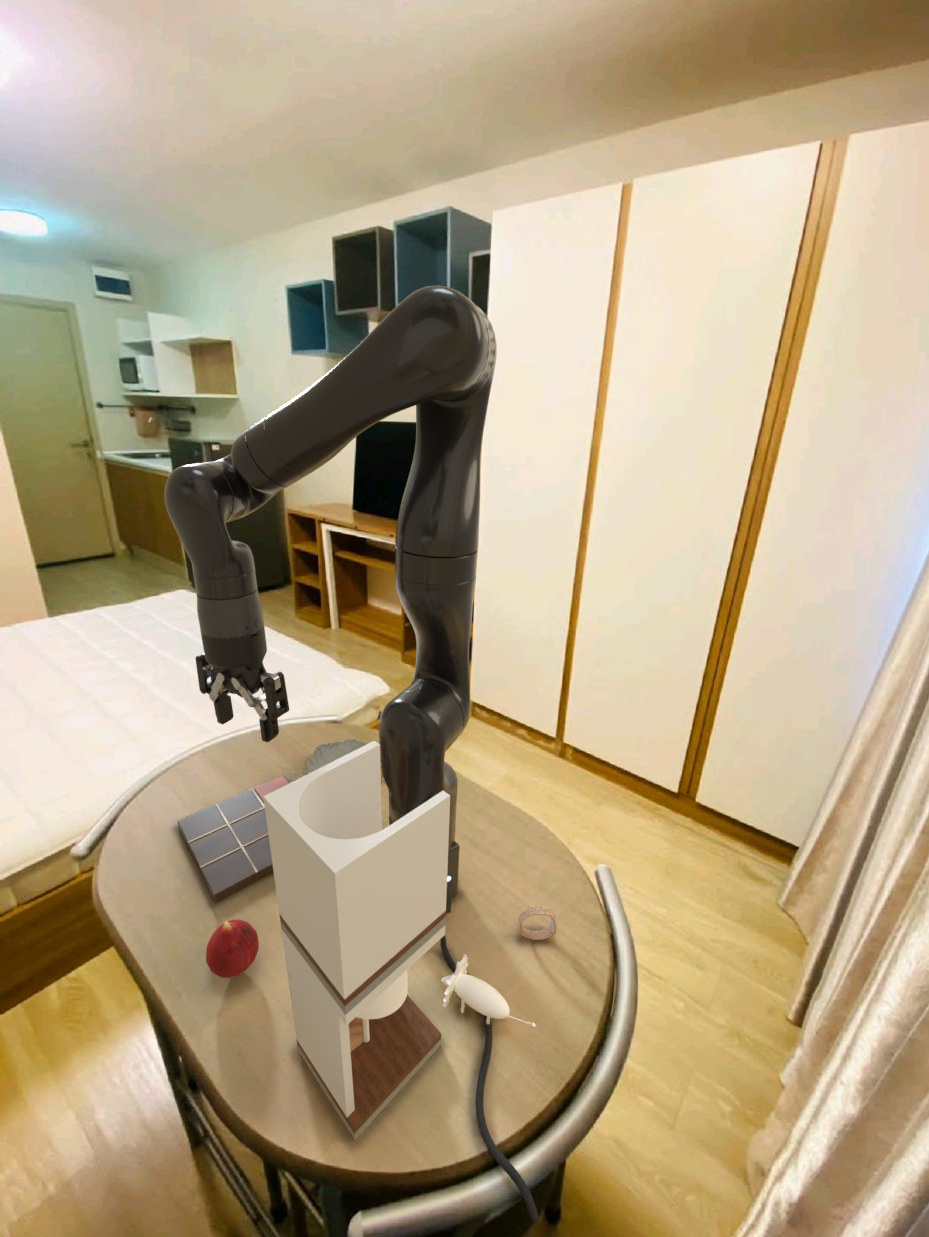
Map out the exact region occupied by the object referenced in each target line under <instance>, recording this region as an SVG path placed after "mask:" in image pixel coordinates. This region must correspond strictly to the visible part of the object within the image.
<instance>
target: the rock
mask: <svg viewBox="0 0 929 1237" xmlns="http://www.w3.org/2000/svg"><path fill="white" fill-rule="evenodd" d="M367 744H368V743H366V742H362V741H359V740H357V739H355V738H351V739H346V740H344V741H334V742H328V743H325V744H324V743H321V744H319V745H317V746H316V747H315V748H314V751H313V755H312V756H311V757H310V759H309V765H308V766H307V768H306V771H305V775H307V774H309V773H311V772H313V771H315V770H317V769H319V768H321V767H323V766H325V765H327V764H329V763H331V762H333V761H335V760H337V759H339V758H341V757H343V756H345V755H347V754H349V753H351V752H353V751H355V750H357V749H359V748H361V747H363V746H365V745H367ZM380 763H381V755H380Z"/></svg>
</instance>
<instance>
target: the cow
mask: <svg viewBox="0 0 929 1237" xmlns="http://www.w3.org/2000/svg"><path fill="white" fill-rule="evenodd" d="M468 961H469V958H468V955H467V954H466V953H464V954H463V956H462V959H461V961H457V963H456V970H455V973H454V972H453V973H451V974H449V975H446V976H444V977H443V978H441V980H440V983H441V984H442V985H444V986H445V987H446V989H445V991H444V993H443V995H444V998H443V1000H442V1002H444V1003H443V1004H442V1006H443V1007H445V1008H446V1007H447V1006H448V1004H449V1003H450V1000H451V996H452V994H453V993H454V992H455V993H456V995H457V997H458V998H460V999H461V1002H460V1009H459V1011H460V1013H461V1014H464V1013H465V1004H466V1005H467V1006H468V1007H470V1008H471V1009H473V1010H474V1011H476V1012H477V1013H479V1014H481V1015H482V1014H483V1015H485V1016H487V1020H486V1024H487V1025H489V1024H490V1019H496V1020H504V1019H506V1018H508V1019H511V1020H514V1021H518V1022H519V1023H523V1024H526V1025H529V1026H531V1028H536V1027H537V1024H536V1023H535V1022H529V1021H527V1020H523V1019H521V1018H517V1017H515V1016H512V1015H510V1013H511V1012H510V1011H511V1010H510V1006H509V1004H508V1002H507V1001H506V999H505V998H504V997H503V995H502V993H500V992H499V991H498V990H497V989H495V988H494V987H493V985H490V984H489V983H487V982H486V981H485V980H482V979H480V978H479V977H476V976H474V975H472V974H471V975H470V974H467V973H468V970H467V968H468V966H469V965H470V964H469V962H468ZM483 1015H482V1016H483Z"/></svg>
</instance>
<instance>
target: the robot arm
mask: <svg viewBox="0 0 929 1237" xmlns="http://www.w3.org/2000/svg"><path fill="white" fill-rule="evenodd" d="M497 348H498V344H497V337H496V333H495V330H494V328H493V324H492V322H491V321H490V319H489V317H488V315H487V314H486V313H485V312H484V311H483V310H482V309H481V308H480V307H479V306H478V305H477V304H475V303H474V301H473V300H471V299H470V298H469V297H467V296H466V295H465V294H463V293H462V292H461V291H459V290H457V289H454V288H452V287H449V286H444V285H438V284H437V285H427V286H424V287H420V288H419V289H416V290H414V291H413V292H411V293H410V294H409V295H407V296H406V297H405V298H404V299H403V300H402V301H401V302H399V303H398V304H397V305H396V306H395V307H394V308H393V309H392V310H391V311H390V312H389V313H388V314H387V315H386V316H385V317H384V318H383V319H382V320H381V321H380V322H379V323H378V324H377V325H376V326H375V328H373V329H372V331H370V332H369V333H368V335H366V337H364V339H363V340H361V341H360V343H359V344H358V345H357V346H356V347H354V348H353V349H352V350H351V351H350V352H349V353H348V354H347V355H346V356H345V357H343V359H341V360H340V361H339V362H338V363H337V364H336V365H334V366H333V367H332V368H331V369H330V370H329V371H327V372H326V373H325V374H324V375H323V376H322V377H320V378H319V379H318V380H316V381H315V382H313V384H311V385H310V386H309V387H307V388H306V389H305V390H303V391H302V392H301V393H298V395H296V396H295V397H293V398H292V399H290V400H289V401H287V402H285V404H283V405H282V406H279V407H278V408H276V409H275V410H274V411H272V412H271V413H269V414H268V415H266V416H265V417H264V418H263V417H262V419H261V420H259V421H258V422H256V423H254V424H253V425H252V426H250V427H249V428H247V429H245V430H244V431H243V432H242V433H240V435H239V436H237V437H236V439H235V440H234V441H233V443H232V446H231V450H230V454H228V455H226V456H224V457H222V458H220V459H217V460H213V461H205V462H199V463H191V464H190V463H189V464H185V465H184V464H183V465H180V466H178V467H176V468H175V469H174V470H172V471H171V473H169V475H168V476H167V479H166V483H165V485H164V493H163V495H164V498H163V499H164V504H165V508H166V512H167V514H168V515H167V516H168V517H169V519H170V521H171V524H172V526H173V528H174V530H175V532H176V534H177V536H178V538H179V540H180V542H181V545H182V547H183V549H184V551H185V553H186V555H187V556H188V558H189V561H190V563H191V569H192V576H193V582H194V588H195V593H196V611H197V619H198V625H199V630H200V637H201V643H202V648H203V653H201V654H198V655H197V656H195V665H196V674H197V680H198V687H199V692H200V693H201V694H202V695H205V694H208V697H209V699H210V701H211V702H213V707H214V711H215V712H214V713H215V717H216V721H217V723H218V724H220V725H225V724H226V723H228V722H230V721H232V720H233V719H234V709H233V702H232V696H231V695H237V696H238V697H240V698H243V699H244V701H245V703H246V704H247V706H248V707H249V708H253V709H254V710H255V712H256V714H257V715H258V717H259V719H258V721H259V728H260V736H261V741H262V742H265V743H270V742H271V741H272V740H274V739H275V738H276V737H277V736H278V735H279V733H280V728H279V718H280V717H282V716H283V715H285V714H287V713H288V712H289V711H290V705H289V699H288V692H287V685H286V679H285V675H284V673H283V672H282V671H277V672H275V673H270V672H267V670H266V667H265V666H264V659H265V657H266V655H267V653H268V652H267V651H268V647H267V638H266V637H267V636H266V630H265V621H264V620H265V619H264V612H263V605H262V601H261V597H260V593H259V588H258V581H257V572H256V562H255V558H254V554H253V551H252V549H251V547H250V546H249V545H248V544H247V543H244V542H242V541H239V540H232V538H231V536H230V534H229V531H228V527H227V523H230V522H234V521H236V520H240V519H242V518H244V517H246V516H249V515H250V514H253V513H254V512H255V511H258V509H259V508H262V507H263V506H265V505H266V503H267V502H269V501H270V500H271V499H272V498H274V497H275V496H276V495H277V494H278V493H279V492H280V491H282V490H284V489H286V488H289V487H291V486H292V485H294V484H295V483H297V482H298V481H300V480H301V479H303V478H305V477H307V476H309V475H310V474H311V473H314V472H315V471H317V470H318V469H319V468H321V467H322V466H324V465H325V464H327V463H328V462H329V461H331V460H332V459H333V458H335V457H336V456H337V455H338V454H339V453H340V452H342V451H343V450H344V448H345V447H347V446H348V444H350V443H351V442H352V441H354V439H355V438H358V436H360V434H362V433H364V432H365V431H366V430H367V429H369V428H371V427H372V426H374V425H376V424H377V423H379V422H380V421H383V420H384V419H386V418H388V417H390V416H392V415H394V414H397V413H399V412H402V411H404V410H407V409H409V408H412V407H414V406H415V426H416V428H415V429H416V430H415V431H416V432H415V445H414V451H413V452H414V453H413V457H412V462H411V466H410V471H409V473H408V478H407V481H406V485H405V488H404V492H403V495H402V499H401V504H400V508H399V512H398V517H397V522H396V530H395V542H394V543H395V544H394V545H395V548H394V551H395V552H394V582H395V589H396V593H397V596H398V600H399V602H400V604H401V606H402V609H403V611H404V612H405V615H406V617H407V619H408V620H409V622H410V624H411V627H412V629H413V631H414V632H413V633H414V635H415V643H416V644H415V645H416V654H415V655H416V656H415V667H414V674H413V678H412V681H411V683H410V685H408V686H407V687H406V688H404V690H402V691H401V692H400V693H398V694H397V695H396V696H395V697H393V698H392V699H391V700H390V701H389V702H388V703H387V704H386V705H385V706H384V707H383V709H382V711H381V713H380V717H379V721H378V744H380V755H381V762H380V768H381V774H382V779H383V781H384V783H385V785H386V788H387V789H388V826H390V825H391V824H393V823H394V822H396V821H397V820H399V819H400V818H402V817H403V816H405V815H406V814H408V813H409V812H411V811H412V810H414V809H415V808H417V807H419V806H420V805H422V804H423V803H425V802H426V801H428V800H429V799H431V798H432V797H434V796H435V795H437V794H438V793H440V792H441V791H445V792H446V793H447V794H449V795H450V816H449V843H448V869H447V896H446V915H447V914H451V913H452V899H453V898H454V897H457V895H458V889H459V868H460V866H459V865H460V850H461V848H460V844H459V843H458V842H456V824H457V823H456V822H457V804H458V786H459V785H458V784H459V781H458V775H457V772H456V771H455V769H454V767H453V766H452V765H451V764H449V763H448V762H446V761H445V758H446V752H447V751H448V750H449V749H450V748H451V747H452V746H453V744H454V743H455V742H456V741H457V740H458V739H459V738H460V737H461V735H462V733H463V732H464V731H465V729H467V728H466V727H467V725H468V723H469V720H470V715H471V682H470V681H471V680H470V679H471V678H470V640H471V633H472V632H471V630H472V620H473V608H474V596H475V587H476V579H477V567H478V566H477V565H478V554H479V541H480V540H479V538H480V514H481V458H482V447H483V446H482V444H483V438H484V431H485V427H486V426H485V425H486V420H487V419H486V418H487V414H488V408H489V400H490V395H491V392H492V385H493V380H494V375H495V369H496V363H497V355H498V353H497V352H498V350H497ZM209 678H210V681H208V679H209ZM260 689H261V691H262V694H261V695H259V696H257V697H255V696H254V695H255V694H256V693H258V692H259V691H260ZM229 694H231V695H229ZM263 701H264V702H265V703H266V708H265V707H264V705H263V704H262V702H263ZM439 941H440V949H441V952H442V955H443V958H444V960H445V961H446V963H447V965H448V966H449V968H450V970H451V971H452V972H453V974H454V973H455V970H456V965H457V963H455V961H454V959H453V958H452V956H451V954H450V951H449V950H448V944H447V935H446V934H445V935H444V936H443V937H442V938H441V939H440V940H439ZM481 1015H482V1017H483V1023H484V1031H485V1037H484V1038H485V1039H484V1048H483V1053H482V1058H481V1062H480V1067H479V1072H478V1076H477V1083H476V1089H475V1115H476V1121H477V1126H478V1130H479V1133H480V1136H481V1139H482V1141H483V1144H484V1145H485V1147H486V1148H487V1150H488V1152H489V1154H490V1155H491V1156H492V1157H493V1159H494V1160H495V1162H497V1164H498V1165H499V1166H500V1167H501V1168H502V1170H503V1171H504V1172H505V1173H506V1175H508V1177H509V1178H510V1179H511V1180H512V1182H513V1183H514V1184H515V1186H516V1188H517V1189H518V1191H519V1193H520V1195H521V1196H522V1198H523V1201H524V1203H525V1206H526V1209H527V1212H528V1215H529V1218H530V1219H531V1220H532V1222H535V1223H536V1222H538V1220H539V1213H538V1209H537V1206H536V1203H535V1200H534V1197H533V1195H532V1193H531V1191H530V1189H529V1186H528V1185H527V1182H525V1179H524V1178H523V1176H522V1175H521V1173H519V1171H518V1170H517V1168H515V1166H514V1165H513V1164H512V1163H511V1161H510V1160H509V1159H507V1157H506V1156H505V1155H504V1154H503V1152H502V1151H501V1150H500V1149H499V1148H498V1146H497V1145H496V1143H495V1142H494V1139H493V1138H492V1136H491V1134H490V1132H489V1129H488V1126H487V1122H486V1117H485V1110H484V1092H485V1084H486V1079H487V1073H488V1068H489V1064H490V1059H491V1055H492V1054H491V1053H492V1047H493V1024H492V1020H491V1019H492V1018H490V1024H489V1025H487V1024H486V1020H487V1016H485V1015H483V1014H481Z"/></svg>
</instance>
